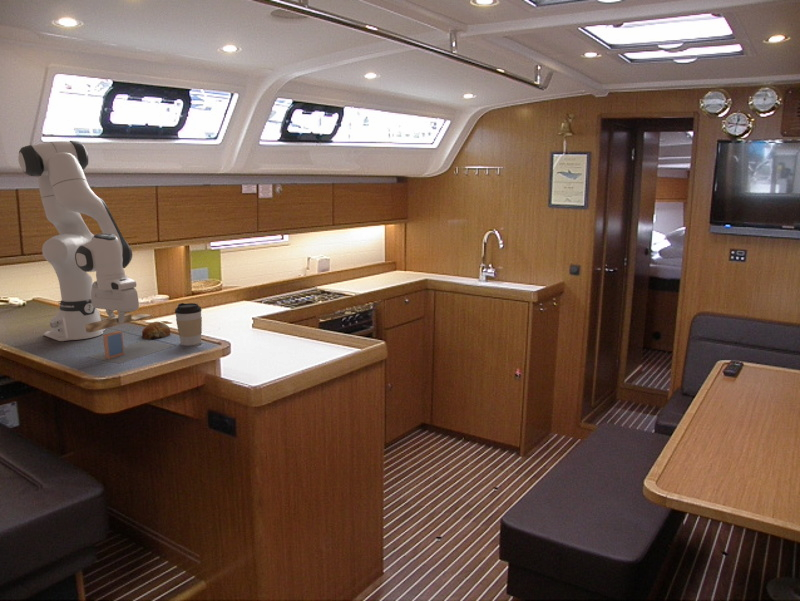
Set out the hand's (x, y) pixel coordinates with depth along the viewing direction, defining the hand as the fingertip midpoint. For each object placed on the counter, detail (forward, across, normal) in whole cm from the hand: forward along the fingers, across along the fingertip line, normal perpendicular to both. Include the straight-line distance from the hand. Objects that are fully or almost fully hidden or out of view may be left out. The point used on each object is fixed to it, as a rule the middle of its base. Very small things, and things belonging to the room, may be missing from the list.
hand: (117, 322), depth 219 cm
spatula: (+1, 0, 0) cm, 1 cm away
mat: (+11, +5, +1) cm, 12 cm away
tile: (+10, +5, -6) cm, 13 cm away
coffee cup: (+11, +15, +17) cm, 26 cm away
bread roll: (+11, -5, +19) cm, 22 cm away
